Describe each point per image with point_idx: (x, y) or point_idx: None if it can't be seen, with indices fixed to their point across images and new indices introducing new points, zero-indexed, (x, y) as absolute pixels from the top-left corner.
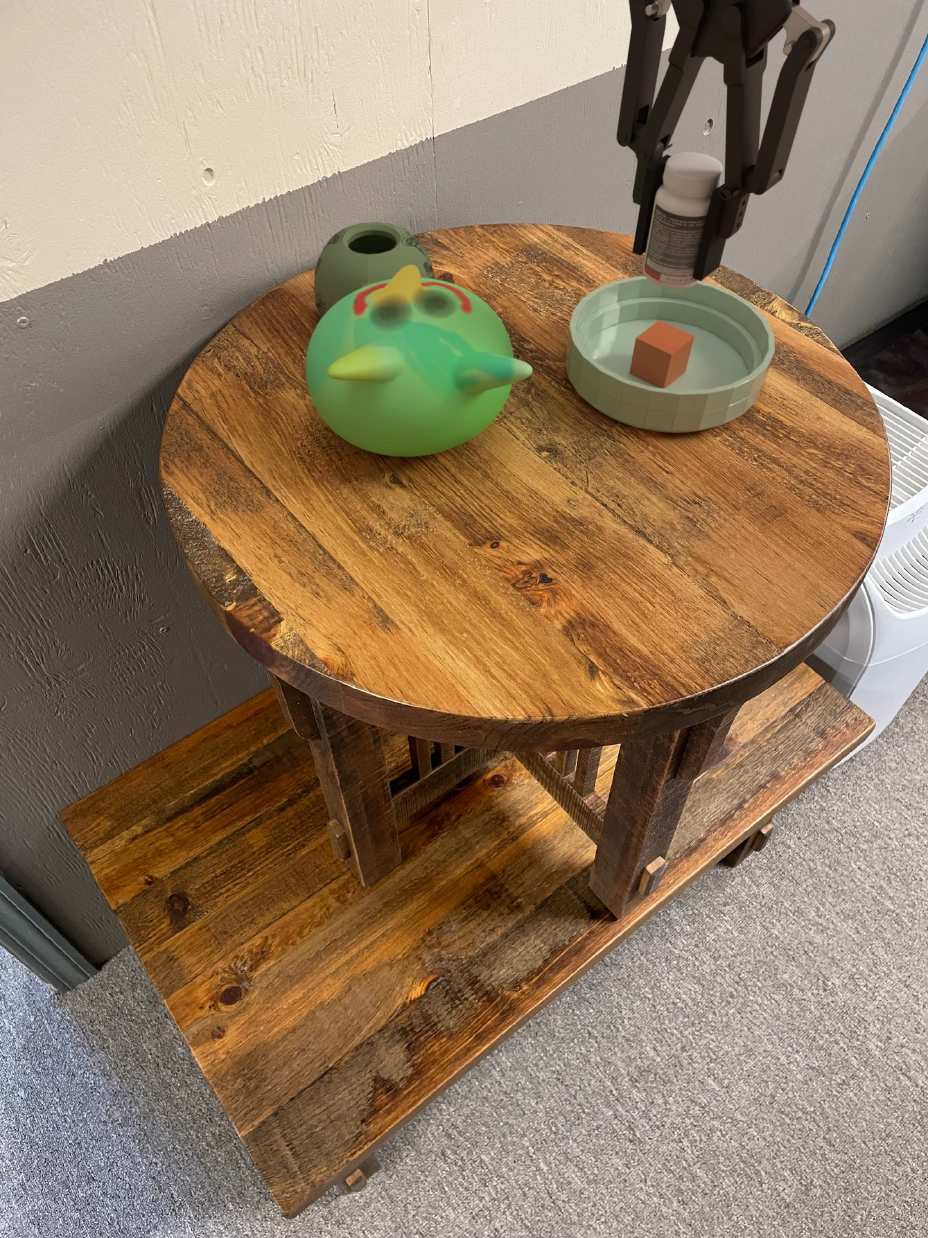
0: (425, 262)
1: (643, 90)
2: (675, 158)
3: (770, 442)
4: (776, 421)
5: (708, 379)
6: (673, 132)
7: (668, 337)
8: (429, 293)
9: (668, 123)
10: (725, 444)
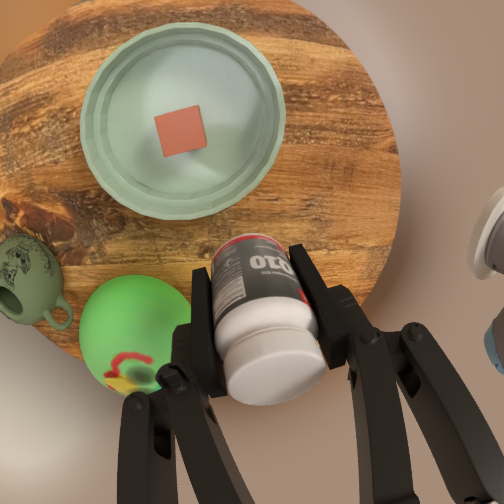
0: (22, 270)
1: (168, 484)
2: (241, 393)
3: (306, 112)
4: (292, 87)
5: (221, 96)
6: (200, 404)
7: (183, 129)
8: (130, 376)
9: (224, 446)
10: (284, 141)
